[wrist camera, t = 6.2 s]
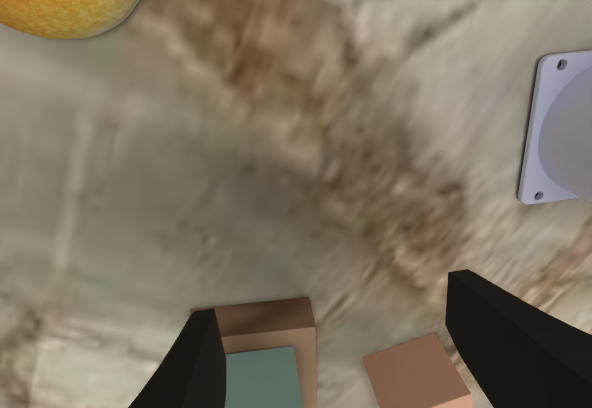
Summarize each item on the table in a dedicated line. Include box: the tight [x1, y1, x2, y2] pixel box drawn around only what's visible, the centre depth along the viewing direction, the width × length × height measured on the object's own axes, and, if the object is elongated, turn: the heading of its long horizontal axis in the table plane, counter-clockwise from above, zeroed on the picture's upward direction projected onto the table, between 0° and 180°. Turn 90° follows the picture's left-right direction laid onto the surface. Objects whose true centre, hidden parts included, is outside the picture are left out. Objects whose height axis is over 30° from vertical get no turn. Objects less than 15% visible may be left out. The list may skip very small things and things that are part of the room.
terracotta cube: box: [363, 333, 474, 408], centre depth 26 cm, size 5×5×5 cm
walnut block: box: [190, 297, 318, 408], centre depth 25 cm, size 7×7×3 cm
